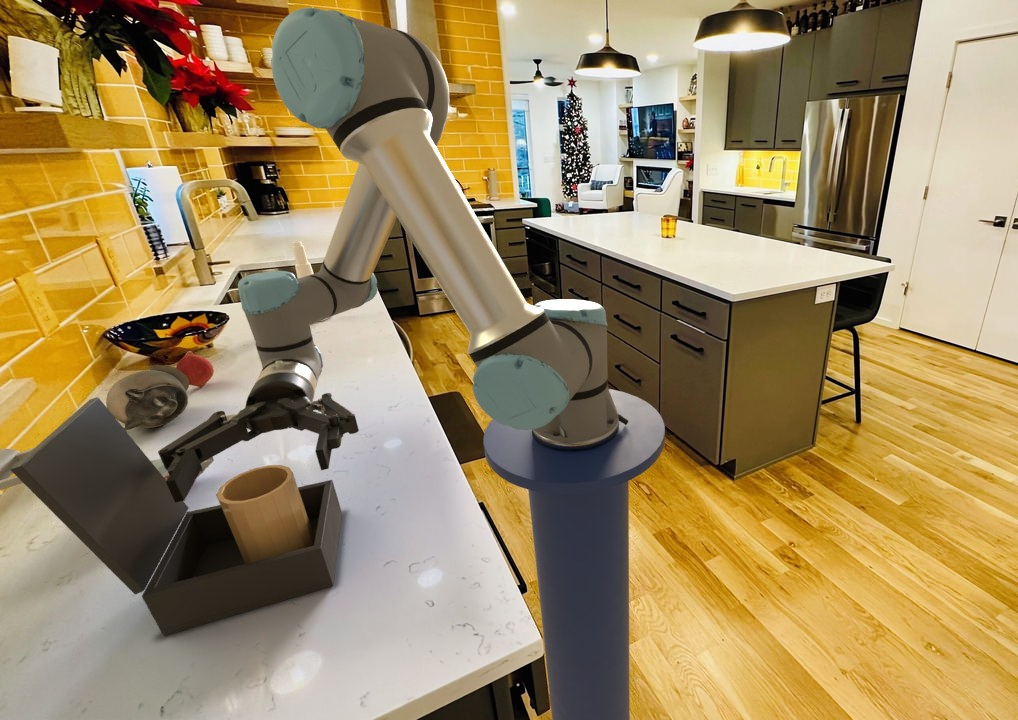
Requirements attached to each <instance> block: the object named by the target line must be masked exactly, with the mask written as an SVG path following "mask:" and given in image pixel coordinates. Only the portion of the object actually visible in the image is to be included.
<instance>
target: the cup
mask: <svg viewBox="0 0 1018 720" xmlns="http://www.w3.org/2000/svg"><path fill="white" fill-rule="evenodd" d="M298 487H299V486H298V484H297V481H296V478H295V474H294V472H293V471H292V469H291V468H290V467H289V466H286V465H282V464H269V465H264V466H258V467H254V468H252V469H249V470H246V471H244V472H241V473H239V474H237V475H235V476H233V477H232V478H230V479H228V480H227V481H226V482H225V483H224V484H222V485H221V486H220V487H219V489H218V491H217V493H216V498H217V500H218V503H219V505H221V508H222V510H223V512H224V515H225V517H226V520H227V522H228V524H229V527H230V529H231V531H232V534H233V536H234V539H235V541H236V543H237V546H238V548H239V551H240V553H241V555H242V558H243V560H244V562H245V564H247V563H251V562H255V561H258V560H262V559H266V558H270V557H273V556H277V555H281V554H285V553H288V552H292V551H296V550H300V549H303V548H307V547H311V546H314V542H315V537H314V534H313V531H312V528H311V525H310V522H309V519H308V516H307V513H306V510H305V507H304V504H303V501H302V498H301V495H300V492H299V490H298Z"/></svg>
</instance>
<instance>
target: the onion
mask: <svg viewBox="0 0 1018 720" xmlns="http://www.w3.org/2000/svg"><path fill="white" fill-rule="evenodd" d="M175 368H177V369H178V370H179V371H181V372H182V373H184V374H185V375H186V376H187V378H188V380H189V386H192V387H198V388H202V387H205V386H206V384H207V383H208V382H209V381H210V380H211V379H212V378H213V376H214V372H215V371H214V367H213V365H212V362H210V360H208V359H207V358H205V357H203V356H200V355H196V354H194V353H193V351H192V350H191V351H187V352H186V353H185V354H184V356H183V357H182V358H181V359H180V360H178V362H177V364H176V366H175Z"/></svg>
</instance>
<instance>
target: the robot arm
mask: <svg viewBox="0 0 1018 720" xmlns="http://www.w3.org/2000/svg"><path fill="white" fill-rule="evenodd" d="M271 52H272V54H271V55H272V56H271V59H270V66H271V75H272V78H273V82H274V85H275V89H276V91H277V93H278V96H279V97H280V99H281V101H282V103H283V105H284V106H285V107H286V109H287V110H288V111H289V112H290V113H291V114H292V115H293V116H294V117H295V118H296V119H297V120H299V121H300V122H302V123H305V124H308V125H309V126H310V127H312V128H315V129H320V130H326V132H327V133H328V135H329V137H330V138H331V140H332V141H333V142H334V143H333V144H335V146H336V147H337V149H338V150H339V152H340V154H341V156H342V157H343V158H344V159H347V160H350V161H352V162H355V163H358V165H357V168H356V171H355V174H354V176H353V179H352V183H351V185H350V187H349V190H348V193H347V195H346V198H345V201H344V203H343V206H342V209H341V212H340V214H339V217H338V220H337V223H336V226H335V229H334V231H333V234H332V235H331V239H330V242H329V245H328V247H327V250H326V253H325V256H324V259H323V261H322V263H321V266H320V268H319V271H317V272H315V273H314V274H312V275H308V276H305V277H301V278H298V277H297V276H295V274H294V273H293V272H290V271H286V270H271V271H270V270H269V271H264V272H256V273H252V274H248V275H246V276H243V277H242V278H240V279H239V281H238V282H237V290H238V296H239V300H240V304H241V310H242V311H243V313H244V315H245V317H246V320H247V324H248V325H249V329H250V330H251V334H252V336H253V340H254V342H255V348H256V352H257V354H258V358H259V360H260V363H261V367H262V369H261V371H260V373H259V375H258V376H257V379H256V381H255V383H254V385H253V386H252V388H251V389H250V392H249V394H248V396H247V398H246V401H245V406H244V408H243V409H240V410H239V411H238V413H237V414H229V415H226V413H225V411H224V410H217V411H215V412H213V413H212V414H211V415H210V416H209V417H208V419H207V420H204V421H203V422H202V423H200V424H199V425H197V426H196V427H194V428H192V429H191V430H189V431H188V432H186V433H184V434H183V435H181V436H180V437H178V438H176V439H175V440H173V441H172V442H170V443H169V444H166V445H165V446H164V447H161V449H159V450H158V451H157V453H158V456H159V459H161V460H162V462H163V465H164V467H165V469H166V470H167V471H168V473H169V475H170V476H169V478H168V479H167V481H166V484H167V486H168V488H169V490H170V492H171V494H172V497H173V499H174V501H175V503H176V502H180V501H184V502H185V500H186V498H187V496H188V495H189V492H190V491H191V489H192V487H193V485H194V483H195V482H196V480H197V478H198V477H199V476H198V474H199V473H200V471H201V469H202V466H201V464H200V463H202V462H204V461H206V460H208V459H209V458H211V457H213V458H214V457H215V456H217V455H218V454H220V453H222V452H224V451H226V450H228V449H229V448H231V447H233V446H235V445H237V444H238V443H240V442H242V441H243V442H249V441H252V439H253V440H254V439H255V438H256V437H258V436H260V435H262V434H267V433H270V432H274V431H283V430H288V429H294V430H298V431H301V432H302V431H304V430H306V431H309V432H311V433H315V434H317V435H318V437H317V441H316V446H315V450H314V453H315V455H316V458H317V461H318V465H319V468H320V471H326V470H329V468H330V463H331V457H332V451H333V450H334V449H339V448H340V447H341V445H342V440H343V438H344V435H345V434H347V433H348V434H350V435H354V434H357V433H358V432H359V425H358V422H357V418H356V414H355V413H354V412H352V411H351V410H349V409H348V408H346V407H345V406H344V405H342V404H340V403H339V402H337V401H336V400H334V399H333V396H332V395H333V394H332V393H330V392H326V393H323V394H322V395H321V397H320V398H318V399H317V400H314V398H315V393H316V391H317V390H316V389H317V385H318V381H319V378H320V376H321V373H322V372H323V370H322V369H323V367H324V362H323V354H322V351H321V350H320V348H319V347H318V346H317V345H316V344H315V342H314V338H313V333H312V330H311V325H313V324H316V323H318V322H322V321H321V320H323V321H325V320H324V319H326V318H328V319H329V318H332V317H333V316H337V315H339V314H342V313H344V312H347V311H350V310H353V309H357V308H360V307H362V306H364V304H366V303H368V302H370V301H372V300H373V299H375V297H376V296H377V293H378V280H377V278H376V275H375V273H374V271H375V269H376V268H377V267H376V266H377V264H378V262H379V260H380V258H381V256H382V253H383V251H384V249H385V246H386V245H387V242H388V241H389V240H388V239H389V237H390V235H391V233H392V230H393V228H394V227H395V224H396V221H397V220H398V222H399V223H400V225H401V226H402V228H403V229H404V231H405V232H406V235H407V236H408V238H409V239H410V241H411V242H412V244H413V245H414V247H415V248H416V250H417V252H418V253H419V255H420V256H421V258H422V260H423V261H424V263H425V264H426V266H427V268H428V270H429V271H430V273H431V274H432V276H433V278H434V279H435V281H436V282H437V284H438V285H439V287H440V289H441V290H442V292H443V293H444V295H445V297H446V298H447V300H448V301H449V303H450V305H451V306H452V307H453V309H454V311H455V313H456V314H457V316H458V317H459V319H460V320H461V322H462V324H463V325H464V327H465V328H466V330H467V332H468V333H469V342H468V346H467V349H466V353H467V354H468V355H469V357H470V359H471V360H472V362H473V364H474V365H475V367H476V369H475V372H474V373H473V378H472V382H473V384H472V386H471V388H472V393H473V396H474V399H475V401H476V403H477V404H478V406H479V407H480V408H481V409H482V411H483V412H484V413H485V414H486V415H487V416H488V417H489V418H490V419H491V420H492V419H493V420H495V421H497V422H498V423H500V424H502V425H504V426H508V425H509V426H511V427H512V428H514V429H519V430H532V435H533V437H534V439H535V440H536V441H537V442H538V443H539V444H541V445H543V446H545V447H547V448H550V449H553V450H558V451H566V452H575V451H584V450H589V449H593V448H596V447H599V446H601V445H604V444H606V443H607V442H609V441H610V440H612V439H613V438H614V437H615V435H616V434H617V432H618V430H619V421H620V422H622V423H623V424H625V425H626V424H627V423H628V420H627V419H625V418H624V417H622V416H621V415H620V414H618V412H617V410H616V407H615V404H614V402H613V399H612V397H611V394H610V391H609V389H610V388H609V384H608V383H609V381H608V378H609V375H608V374H609V372H608V326H609V323H607V313H606V309H605V308H604V307H603V306H602V305H601V304H599V303H597V302H594V301H589V300H584V299H570V298H569V299H563V298H562V299H549V300H543V301H539V302H537V303H535V304H534V305H531V304H529V303H528V302H527V301H526V299H525V297H524V296H523V294H522V292H521V290H520V289H519V286H518V285H517V283H516V281H515V280H514V278H513V276H512V275H511V273H510V271H509V270H508V268H507V266H506V264H505V263H504V261H503V260H502V258H501V256H500V254H499V252H498V251H497V249H496V248H495V245H494V244H493V242H492V241H491V238H490V237H489V235H488V234H487V232H486V231H485V229H484V227H483V225H482V223H481V221H480V220H479V219H478V217H477V215H476V214H475V211H474V210H473V208H472V206H471V205H470V203H469V201H468V199H467V198H466V196H465V194H464V193H463V191H462V189H461V187H460V186H459V184H458V183H457V181H456V179H455V177H454V175H453V174H452V172H451V171H450V169H449V167H448V165H447V164H446V161H445V160H444V159H443V157H442V155H441V154H440V152H439V150H438V148H437V147H438V144H439V142H440V140H441V138H442V136H443V133H444V129H445V127H446V123H447V119H448V116H449V110H450V87H449V82H448V79H447V75H446V73H445V70H444V68H443V66H442V64H441V62H440V60H439V59H438V58H437V56H436V54H435V53H434V52H433V51H432V50H431V48H429V47H428V45H426V43H424V42H423V41H421V40H420V39H418V38H417V37H416V36H414V35H412V34H411V33H409V32H406V31H403V30H398V29H395V28H390V27H387V26H384V25H380V24H377V23H374V22H371V21H366V20H363V19H360V18H357V17H353V16H351V15H346V14H345V13H343V12H341V11H339V10H335V9H328V10H326V9H321V8H316V7H303V8H298V9H295V10H293V11H292V12H290V13H289V14H288V15H286V16H285V17H284V19H283V20H282V21H281V22H280V24H279V25H278V27H277V29H276V30H275V33H274V37H273V39H272V43H271ZM296 277H297V278H296ZM326 320H327V319H326ZM248 430H249V431H248ZM197 476H198V477H197Z"/></svg>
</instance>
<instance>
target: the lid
mask: <svg viewBox="0 0 1018 720" xmlns="http://www.w3.org/2000/svg"><path fill="white" fill-rule="evenodd" d="M124 428H125V427H123V425H122V424H121V422H120V421H118V420H117V419H116V418H115V417H114V416H113V415H112V413H111V412H110V411H109V410H108V409H107V405H105V404H104V402H103V401H102V400H101V399H100V398H99V397H93V398H90V399H89V400H88V401H86V402H85V403H84V404H83V405H81V407H80V408H78V409H77V410H76V411H75V412H74V413H73V414H72V415H70V417H68V418H67V419H66V420H65V421H63V422H62V423H61V424H60V425H59V426H58V427H56V428H55V429H54V430H53V431H52V432H51V433H49V435H47V436H46V437H45V438H43V440H42V441H40V443H38V444H37V445H36V446H35V447H33V448H28V449H26V450H23V451H19V450H17V449H13V448H0V491H3V490H6V489H9V488H12V487H15V486H18V485H21V484H24V485H25V487H27V488H28V489H29V490H30V491H31V492H32V493H33V495H35V496H36V497H37V498H38V499H39V500H40V501H41V502H42V504H44V505H45V506H46V507H47V509H49V511H51V512H52V514H54V515H55V517H57V518H58V519H59V521H61V522H62V523H63V525H65V527H66V528H68V530H70V531H71V532H72V533H73V534H74V536H76V537H77V538H78V539H79V540H80V542H81V543H83V544H84V545H85V546H86V547H87V548H88V549H89V550H90V551H91V553H93V554H94V555H95V556H96V557H97V558H98V559H99V560H100V562H101V563H103V564H104V565H105V566H106V567H107V568H108V570H110V571H111V572H112V574H113V575H115V576H116V577H117V578H118V579H119V580H120V581H121V582H122V583H123V584H124V585H125V586H126V587H127V588H128V590H130V591H131V592H132V594H134V595H137V594H140V593H144V591H145V589H146V588H147V586H148V584H149V582H150V580H151V578H152V576H153V575H154V573H155V571H156V569H157V567H158V565H159V563H160V562H161V560H162V558H163V556H164V554H165V552H166V550H167V549H168V547H169V545H170V543H171V541H172V539H173V537H174V536H175V534H176V532H177V530H178V528H179V526H180V524H181V522H182V521H183V519H184V517H185V515H186V513H187V512H188V510H189V506H188V505H187V504H186V503H185V500H184V501H180V502H176V503H175V501H174V499H173V497H172V494H171V492H170V490H169V488H168V486H167V484H166V479H165V478H164V477H163V476H162V475H161V473H160V472H159V471H158V470H157V468H156V467H155V466H154V465H153V464H152V462H151V461H152V460H150V459H149V457H148V456H147V455H146V454H145V452H144V451H143V450H142V449H141V447H140V446H139V445H138V444H137V443H136V441H135V440H134V439H133V437H132V436H131V435H130V434H129V433H128V432H127V430H125V429H124ZM12 475H13V476H12Z"/></svg>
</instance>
